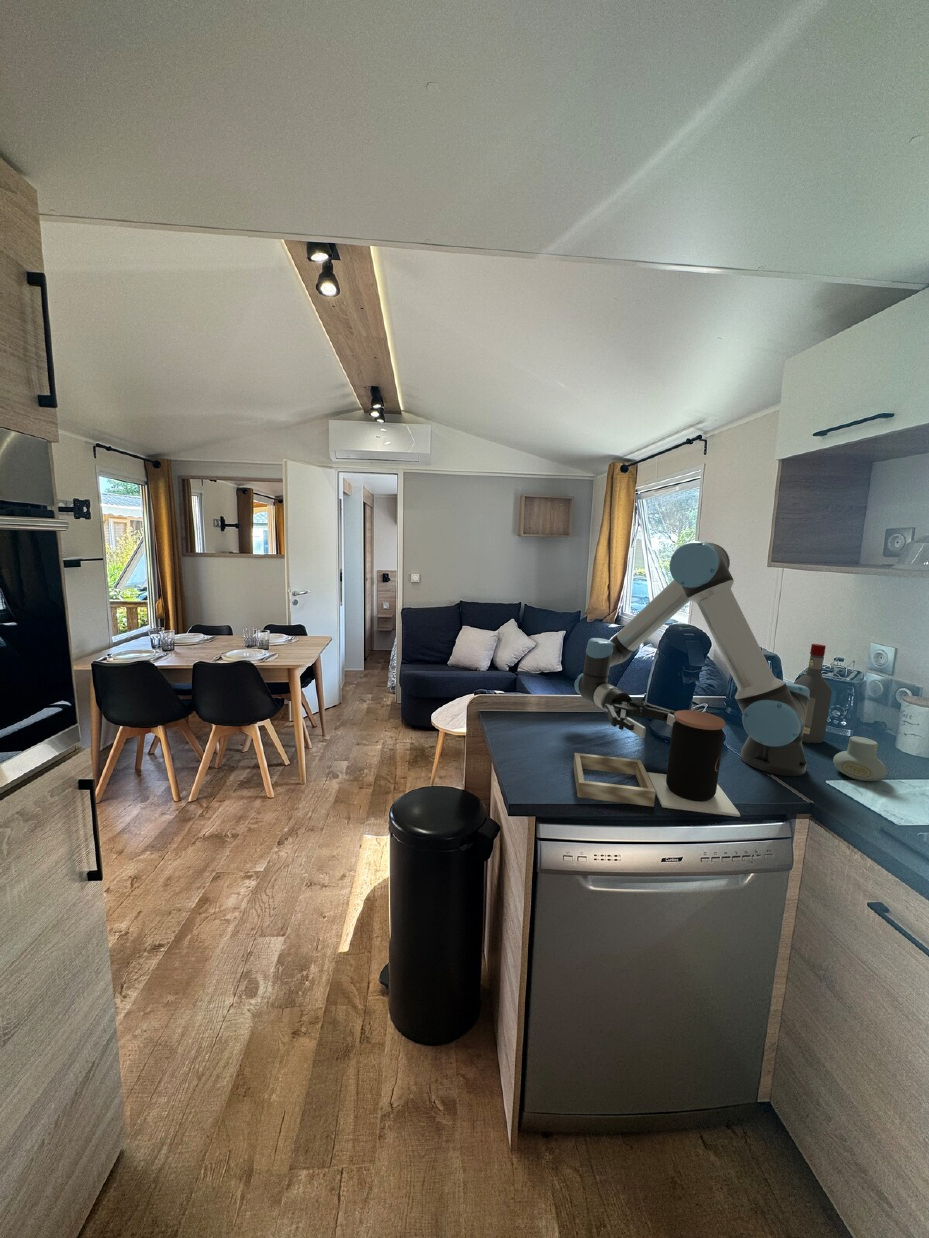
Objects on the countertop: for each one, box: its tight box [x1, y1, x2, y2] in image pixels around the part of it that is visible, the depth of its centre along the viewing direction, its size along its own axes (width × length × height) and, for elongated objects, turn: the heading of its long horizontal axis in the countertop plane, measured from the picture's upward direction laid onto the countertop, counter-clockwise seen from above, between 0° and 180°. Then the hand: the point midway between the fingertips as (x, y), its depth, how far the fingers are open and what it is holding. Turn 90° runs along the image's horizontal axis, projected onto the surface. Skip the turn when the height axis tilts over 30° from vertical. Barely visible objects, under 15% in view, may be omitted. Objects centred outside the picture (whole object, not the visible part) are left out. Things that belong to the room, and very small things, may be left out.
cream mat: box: [646, 771, 741, 818], centre depth 114 cm, size 16×16×1 cm
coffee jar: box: [666, 709, 726, 802], centre depth 113 cm, size 11×11×18 cm
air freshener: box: [832, 735, 888, 782], centre depth 128 cm, size 11×8×10 cm
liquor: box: [793, 643, 833, 744], centre depth 152 cm, size 9×9×30 cm
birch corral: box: [572, 752, 656, 807], centre depth 116 cm, size 16×16×4 cm
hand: (666, 730), depth 122 cm, fingers open, 13 cm apart
